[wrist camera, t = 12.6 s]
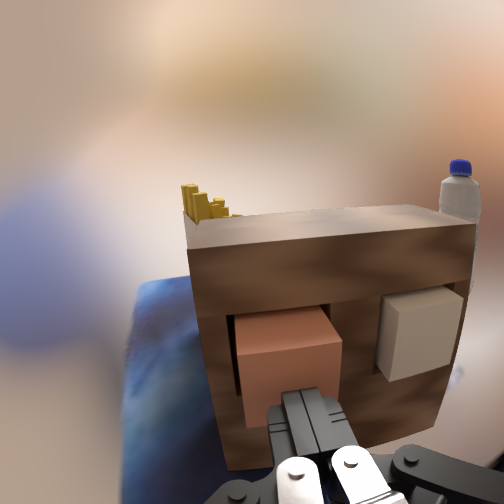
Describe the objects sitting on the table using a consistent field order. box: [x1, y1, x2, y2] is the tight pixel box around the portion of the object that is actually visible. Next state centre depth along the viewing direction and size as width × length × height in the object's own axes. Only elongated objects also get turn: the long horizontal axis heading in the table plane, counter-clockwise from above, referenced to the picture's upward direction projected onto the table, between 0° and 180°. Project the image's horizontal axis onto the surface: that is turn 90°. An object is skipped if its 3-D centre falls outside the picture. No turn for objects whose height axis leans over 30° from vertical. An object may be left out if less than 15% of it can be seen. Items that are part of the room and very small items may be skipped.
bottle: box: [439, 159, 482, 294], centre depth 39 cm, size 7×7×20 cm
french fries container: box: [181, 184, 243, 247], centre depth 34 cm, size 5×11×18 cm, turn 18°
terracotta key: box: [234, 305, 342, 428], centre depth 15 cm, size 4×4×4 cm
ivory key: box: [374, 285, 464, 382], centre depth 17 cm, size 4×4×4 cm
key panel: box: [187, 204, 476, 471], centre depth 21 cm, size 16×8×16 cm, turn 94°
